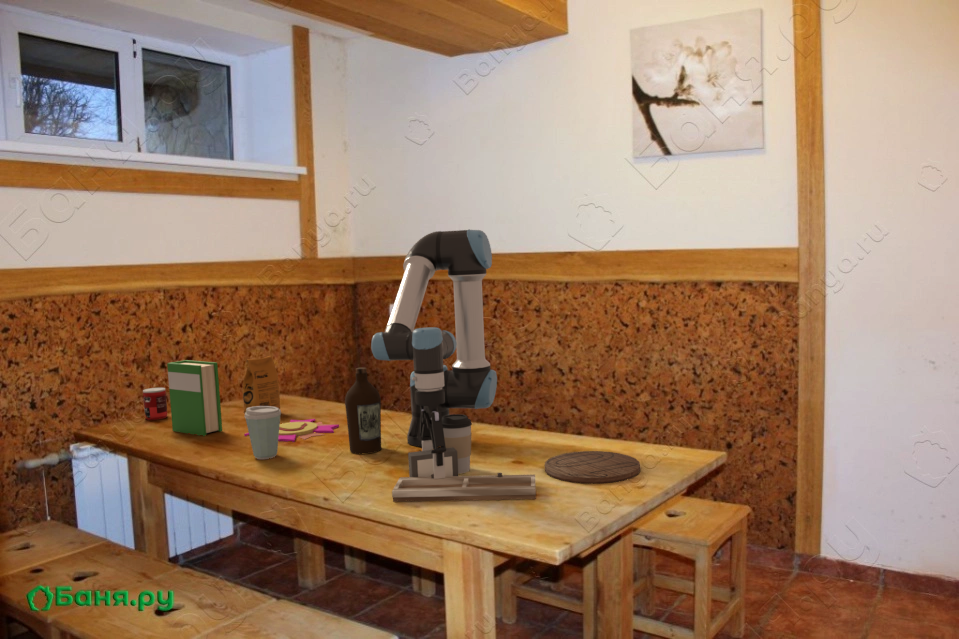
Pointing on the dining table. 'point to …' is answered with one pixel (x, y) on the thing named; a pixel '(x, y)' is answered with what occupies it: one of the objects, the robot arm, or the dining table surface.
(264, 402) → the coffee package
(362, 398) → the olive oil
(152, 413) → the canned food
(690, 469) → the dining table surface
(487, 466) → the dining table surface
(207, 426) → the hardback book
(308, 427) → the wall ornament
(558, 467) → the trivet
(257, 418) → the disposable coffee cup
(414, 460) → the picture frame
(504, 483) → the wooden compartment tray
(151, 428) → the dining table surface
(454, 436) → the coffee cup
